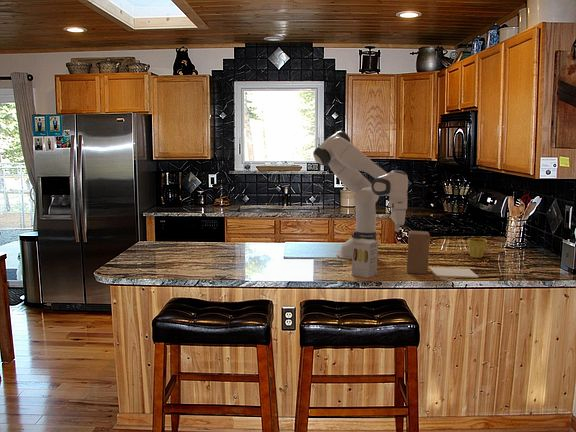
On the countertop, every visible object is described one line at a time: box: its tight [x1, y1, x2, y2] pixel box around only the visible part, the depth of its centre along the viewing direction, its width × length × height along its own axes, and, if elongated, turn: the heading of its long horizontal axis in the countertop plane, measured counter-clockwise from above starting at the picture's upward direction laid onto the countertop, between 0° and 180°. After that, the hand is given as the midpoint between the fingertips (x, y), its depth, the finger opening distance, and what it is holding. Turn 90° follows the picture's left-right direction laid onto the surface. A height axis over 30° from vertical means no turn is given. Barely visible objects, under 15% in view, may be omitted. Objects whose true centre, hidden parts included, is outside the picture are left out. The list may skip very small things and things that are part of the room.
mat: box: [429, 267, 479, 279], centre depth 283 cm, size 20×16×1 cm
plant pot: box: [467, 237, 488, 259], centre depth 322 cm, size 10×10×10 cm
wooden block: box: [406, 230, 431, 276], centre depth 282 cm, size 10×10×20 cm
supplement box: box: [351, 239, 379, 279], centre depth 274 cm, size 10×9×17 cm
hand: (397, 231), depth 281 cm, fingers closed
